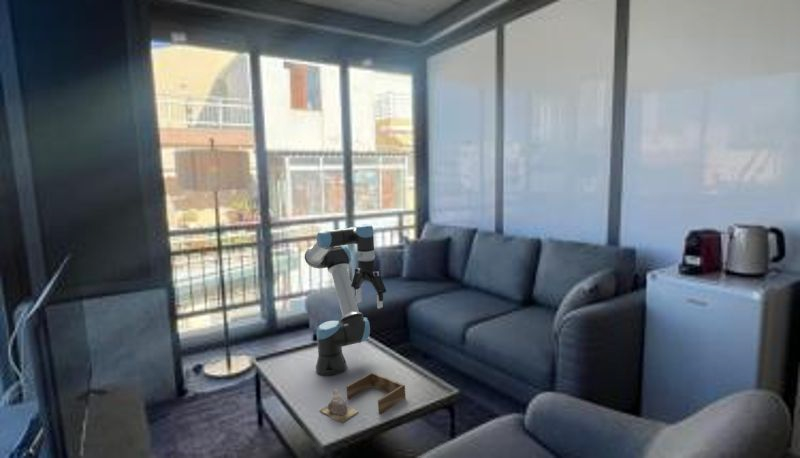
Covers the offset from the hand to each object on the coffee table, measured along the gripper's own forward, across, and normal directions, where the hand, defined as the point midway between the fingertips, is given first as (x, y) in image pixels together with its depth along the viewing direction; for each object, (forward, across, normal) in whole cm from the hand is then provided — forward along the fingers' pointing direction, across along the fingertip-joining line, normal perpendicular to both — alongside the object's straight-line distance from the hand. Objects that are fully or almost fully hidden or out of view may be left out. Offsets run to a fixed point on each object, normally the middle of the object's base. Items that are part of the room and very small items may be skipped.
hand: (369, 305), depth 201 cm
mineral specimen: (+36, +6, -27) cm, 46 cm away
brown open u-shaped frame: (+37, +12, -11) cm, 40 cm away
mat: (+37, +7, -28) cm, 46 cm away
